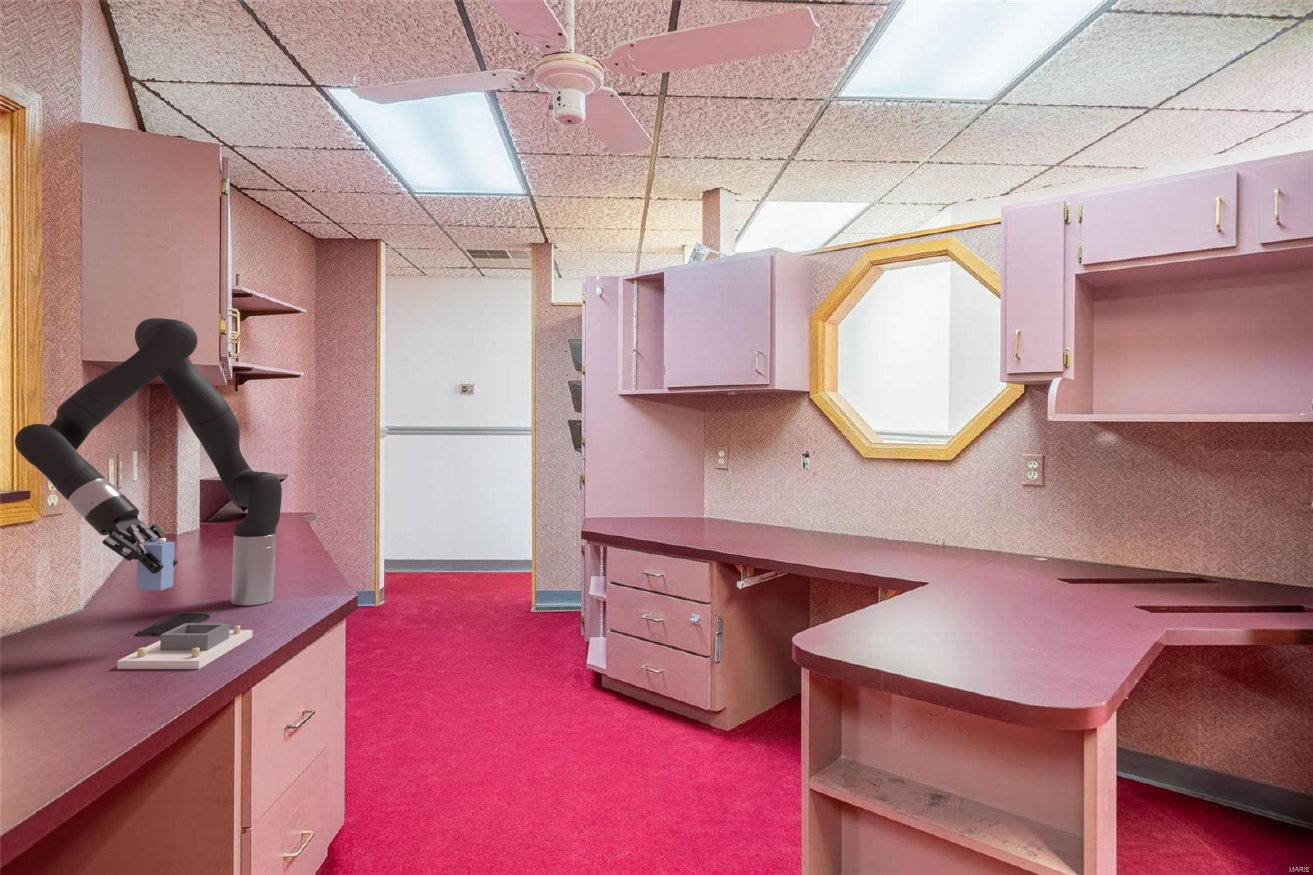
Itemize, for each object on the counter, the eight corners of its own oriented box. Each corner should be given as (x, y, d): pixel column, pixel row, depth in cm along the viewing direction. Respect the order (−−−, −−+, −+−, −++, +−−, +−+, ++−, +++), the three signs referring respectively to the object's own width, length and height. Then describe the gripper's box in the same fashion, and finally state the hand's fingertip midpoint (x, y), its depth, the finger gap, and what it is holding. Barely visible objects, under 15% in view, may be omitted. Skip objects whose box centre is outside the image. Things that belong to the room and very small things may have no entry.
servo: (149, 585, 138) (151, 536, 138) (173, 586, 138) (174, 537, 138) (136, 590, 134) (138, 539, 134) (160, 590, 134) (162, 540, 134)
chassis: (182, 636, 143) (183, 615, 143) (252, 636, 145) (253, 615, 145) (117, 668, 123) (118, 644, 123) (198, 669, 125) (199, 644, 125)
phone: (212, 613, 158) (174, 632, 144) (212, 618, 158) (174, 637, 144) (175, 613, 158) (134, 632, 143) (175, 618, 158) (134, 637, 143)
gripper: (92, 496, 128) (158, 562, 129) (142, 490, 142) (201, 549, 143) (61, 524, 128) (127, 589, 129) (114, 515, 142) (174, 574, 143)
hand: (166, 568), depth 136 cm, fingers closed on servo, 4 cm apart
